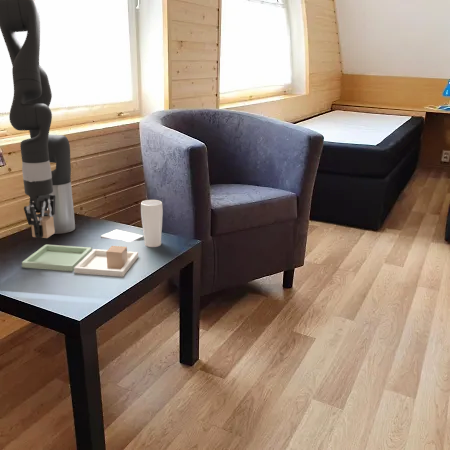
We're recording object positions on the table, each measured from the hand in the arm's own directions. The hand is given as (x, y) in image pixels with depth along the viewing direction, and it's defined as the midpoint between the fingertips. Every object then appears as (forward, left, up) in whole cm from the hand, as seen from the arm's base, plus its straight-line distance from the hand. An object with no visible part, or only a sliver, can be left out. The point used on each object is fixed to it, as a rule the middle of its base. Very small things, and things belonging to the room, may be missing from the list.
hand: (43, 233), depth 138 cm
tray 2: (+1, +19, -9) cm, 21 cm away
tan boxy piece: (0, 0, 0) cm, 0 cm away
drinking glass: (-17, +28, -9) cm, 34 cm away
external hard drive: (-23, +16, -10) cm, 29 cm away
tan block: (+1, +22, -8) cm, 24 cm away
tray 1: (0, +4, -9) cm, 10 cm away
